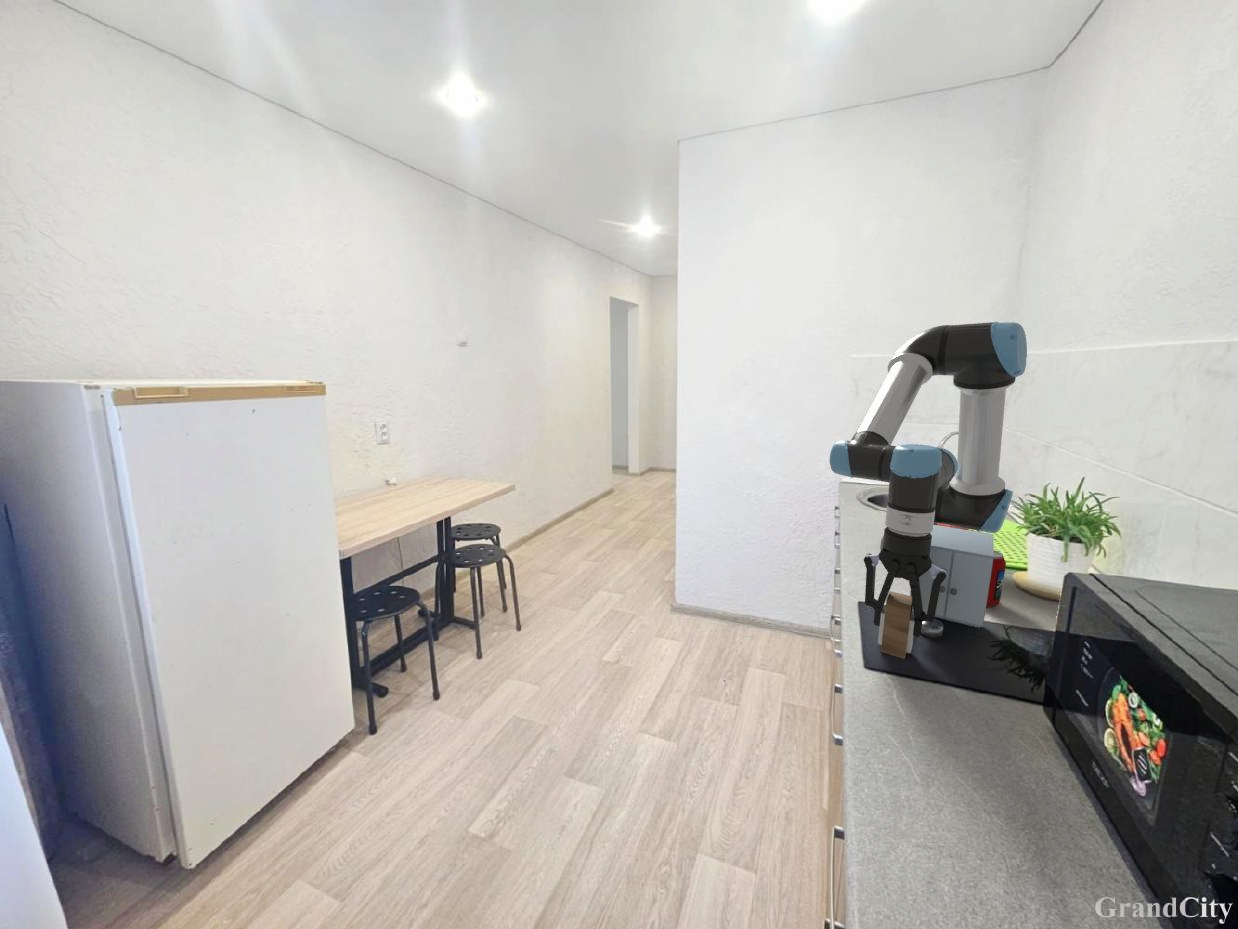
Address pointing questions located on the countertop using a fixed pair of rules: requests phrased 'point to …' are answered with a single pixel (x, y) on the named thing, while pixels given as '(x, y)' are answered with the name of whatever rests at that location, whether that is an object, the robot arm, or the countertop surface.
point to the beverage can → (996, 579)
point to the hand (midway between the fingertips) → (894, 645)
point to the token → (932, 628)
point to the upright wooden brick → (896, 624)
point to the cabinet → (960, 574)
